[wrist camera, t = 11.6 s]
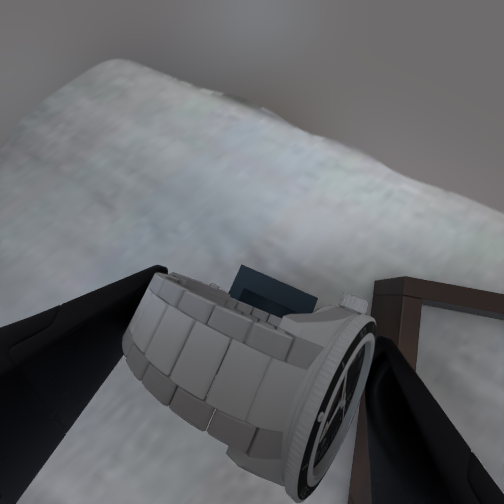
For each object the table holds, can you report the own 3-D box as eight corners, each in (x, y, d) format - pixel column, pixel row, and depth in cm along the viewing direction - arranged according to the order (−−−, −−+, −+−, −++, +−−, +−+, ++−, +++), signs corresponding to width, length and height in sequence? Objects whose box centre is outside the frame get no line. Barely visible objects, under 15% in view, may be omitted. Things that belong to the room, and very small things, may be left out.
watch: (305, 399, 15) (392, 663, 4) (186, 338, 16) (10, 419, 5) (339, 310, 16) (490, 334, 5) (223, 259, 17) (137, 186, 6)
